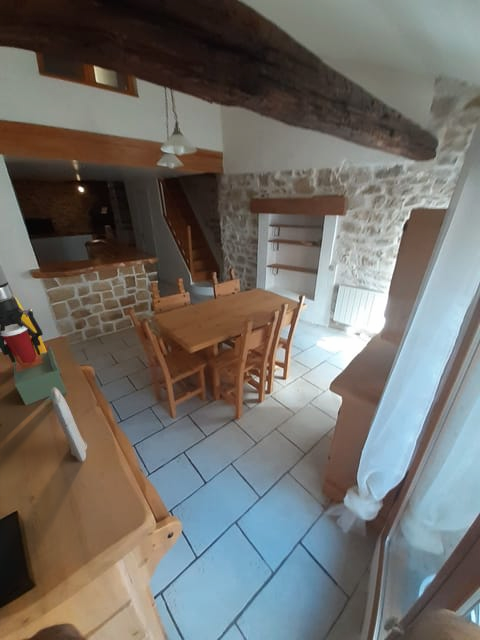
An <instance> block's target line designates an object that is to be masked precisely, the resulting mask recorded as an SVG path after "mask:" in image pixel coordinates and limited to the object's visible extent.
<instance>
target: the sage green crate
mask: <svg viewBox="0 0 480 640" xmlns="http://www.w3.org/2000/svg"><path fill="white" fill-rule="evenodd" d="M46 350H47V352H46V353H42V354H40V355H37V359H36V360H35V361H34V362H32V363H29V364H26V365H20V364H19V363H18V361H17V360H15V362H14V363H13V375H14V377H13V378H14V386H15V388H16V390H17V392H18V393H19V396H20V398H21V399H22V400H23V401H22V402H23V403H24V405H25V406H27V405H30V404H33V403H35V402H38V401H40V400H43V399H44V400H43V403H45V402H48V401H52V397H51V390H52V388H53V387H56V388H57V389H58V390H59V391H60V393H61V395H62V396H64V395H66V394H68V392H67V389H66V386H65V384H64V381H63V380H62V377H61V375H62V372H61V369H60V367H59V365H58V362H57V359H56V357H55V354H54V352H53V349H52V347H51V346H47V347H46Z"/></svg>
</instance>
